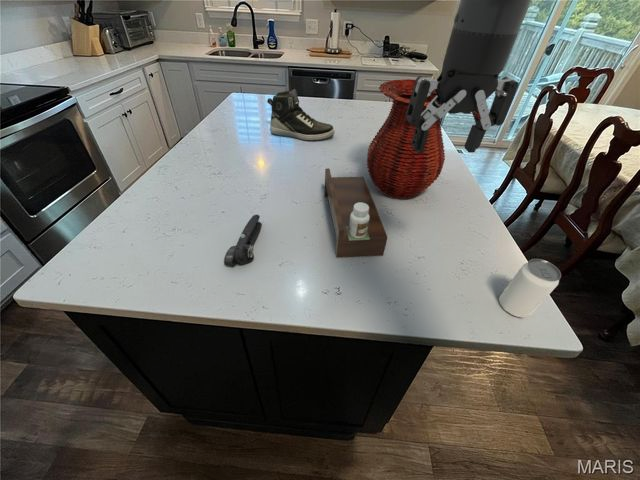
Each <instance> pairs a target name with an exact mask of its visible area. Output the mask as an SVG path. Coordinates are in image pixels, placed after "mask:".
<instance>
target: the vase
mask: <svg viewBox="0 0 640 480" xmlns="http://www.w3.org/2000/svg"><path fill="white" fill-rule="evenodd" d="M415 81H416V79H410V78H408V79H403V78H402V79H393V80H388V81H385V82H383V83H381V84H380V85H379V86H378V90H379V92H380V93H381V94H383V95H384V96H385V97H387V98H389V99H392V104H391V109H390V111H389V113H388V116H387V117H386V119H385V121H384V122H383V124H382V125H381V127H380V128H379V129H378V131H377V132H376V134H375V135H374V138H372V141H371V142H370V143H369V145H368V149H367V150H368V151H367V153H366V154H367V155H366V157H367V158H366V168H367V169H368V171H367V172H368V173H369V177H370V179H371V180H372V182H373V184H374V185H375V187H376V189H377V190H379V192H380V193H381V194H383V195H386V196H387V197H388V196H389V197H391V198H394V199H412V198H413V197H417V196H418V195H420V194H421V193H422V192H424V191H425V190H427V189H428V188H429V187H430V186H431V185H432V184H434V183H435V181H437V180H438V178H439V177H440V175H441V173H442V170H443V168H444V165H445V160H446V153H445V151H446V150H445V146H444V143H445V142H444V138H443V133H442V132H443V131H442V118H441V119H439V120H437V121H436V122H435V123H434V124H433V125H432V126H430V127H429V128H428V130H429V133H428V137H427V140H426V144H425V147H424V150H423V153H417V152H416V151H415V149H414V147H413V146H412V140H413V136H414V132H415V128H416V126H412V125H411V124H410V123H409V122H408V120H407V119H406V117H405V116H406V112H407V109H408V105H409V102H410V98H411V95H412V91H413V88H414V84H415ZM436 96H437V94H436V91H435V89H434V90H433V91H432V92H431V95H430V96H428V97H427V98H426V101H425V104H424V107H423V111H424V110H425V109H426V107H427V105H428V104H429V103H430V102H431V101H432V100H433V99H434V98H435V97H436ZM440 106H441V105H439V106H438V107H437V108H439V107H440ZM423 111H422V112H423Z"/></svg>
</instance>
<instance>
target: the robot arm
mask: <svg viewBox="0 0 640 480" xmlns="http://www.w3.org/2000/svg"><path fill="white" fill-rule="evenodd" d="M531 1H532V0H460V1H459V2H458V3H459V4H458V6H457V10H456V13H455V16H454V20H453V25H452V29H451V33H450V36H449V39H448V43H447V46H446V50H445V54H444V58H443V60H442V61H443V62H442V68H441V72H440V73H439V76H438V77H437V78H436V79H434V78H425V77H424V76H423V75H418V76H417V77H416V79H415V80H416V81H415V84H414V88H413V91H412V95H411V98H410V102H409V105H408V109H407V112H406V116H405V117H406V119H407V120H408V122H409V123H410V124H411V125H412V126H416V128H415V132H414V136H413V140H412V146H413V147H414V149H415V151H416V152H417V153H423V150H424V147H425V144H426V140H427V137H428V133H429V130H428V128H429V127H430V126H432V125H433V124H434V123H435V122H436V121H437V120H439V119H441V120H442V118H444V117H445V116H446V115H447V114H449V115H456V114H460V113H462V114H464V115H470V114H472V116H473V120H474V123H475V124H472V125H471V128H470V130H469V133H468V135H467V138H466V140H465V143H464V149H465V150H466V151H467V152H468V153H473V154H474V153H476V150H479V148H480V146H481V144H482V142H483V140H484V137H485V135H486V132H487V130H489V129H490V128H491V127H493V126H498V127H499V126H502V125H503V124H504V123H505V122H506V121H505V120H506V118H507V116H508V113H509V111H510V108H511V105H512V103H513V100H514V98H515V95H516V93H517V90H518V88H519V85H520V84H519V82H518V81H516V80H515V79H513V78H511V77H508V76H504V77H502V78H501V79H499V75H500V74H502V72H503V71H504V69H505V67H506V64H507V62H508V60H509V57H510V55H511V53H512V50H513V47H514V45H515V42H516V39H517V38H518V35H519V32H520V30H521V27H522V25H523V22H524V20H525V18H526V15H527V12H528V10H529V7H530V4H531ZM434 89H435V91H436V94H437V96H436V97H435V98H434V99H433V100H432V101H431V102H430V103H429V104H428V105H427V107H426V109H425V110H424V111H423V107H424V104H425V101H426V98H427V97H428V96H430V95H431V92H432V91H433V90H434ZM493 94H494V97H493V100H492V103H491V106H490V109H489V107H488V106H489V105H488V103H487V99H489V98H490V97H491V96H492V95H493ZM439 105H441V106H440V107H439V108H437V107H438V106H439ZM422 111H423V112H422ZM636 480H640V477H639V478H637V479H636Z"/></svg>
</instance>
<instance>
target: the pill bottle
mask: <svg viewBox="0 0 640 480" xmlns="http://www.w3.org/2000/svg"><path fill="white" fill-rule="evenodd" d="M368 212H369V206H368V205H367V204H365V203H361V202H359V203H356V204H355V205H354V208H353V212H352V213H351V215H350V223H349V230H348V232H349V234H350V235H351V236H352V237H354V238H363V237H364V236H365V235H366V233H367V228H368V223H369V218H370V216H369V214H368Z"/></svg>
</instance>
